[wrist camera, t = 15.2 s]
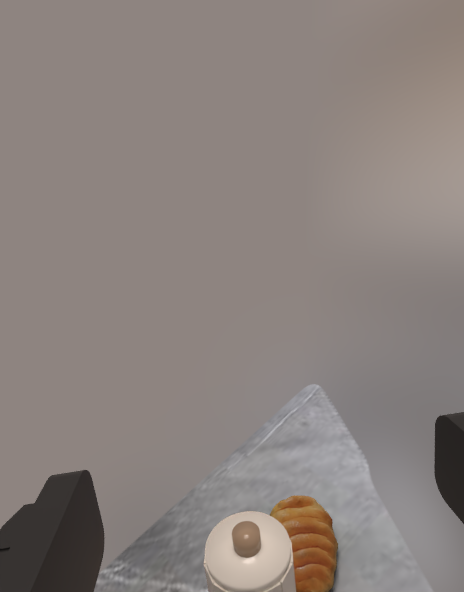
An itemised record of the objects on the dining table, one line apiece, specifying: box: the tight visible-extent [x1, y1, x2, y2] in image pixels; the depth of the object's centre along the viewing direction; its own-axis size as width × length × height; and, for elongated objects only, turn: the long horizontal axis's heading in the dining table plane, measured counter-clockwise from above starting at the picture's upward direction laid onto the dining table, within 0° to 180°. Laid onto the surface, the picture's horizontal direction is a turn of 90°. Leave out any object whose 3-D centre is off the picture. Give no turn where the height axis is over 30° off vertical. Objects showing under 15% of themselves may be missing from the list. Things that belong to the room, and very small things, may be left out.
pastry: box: [270, 496, 338, 592], centre depth 37 cm, size 9×7×4 cm
